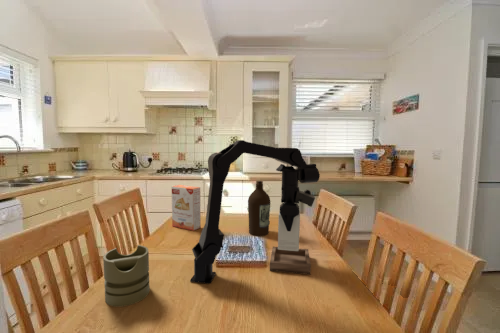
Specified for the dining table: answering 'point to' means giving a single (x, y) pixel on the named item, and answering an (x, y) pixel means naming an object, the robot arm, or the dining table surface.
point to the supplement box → (289, 234)
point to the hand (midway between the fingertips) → (289, 227)
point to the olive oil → (259, 211)
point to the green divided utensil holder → (126, 277)
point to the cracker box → (186, 207)
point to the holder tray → (290, 261)
